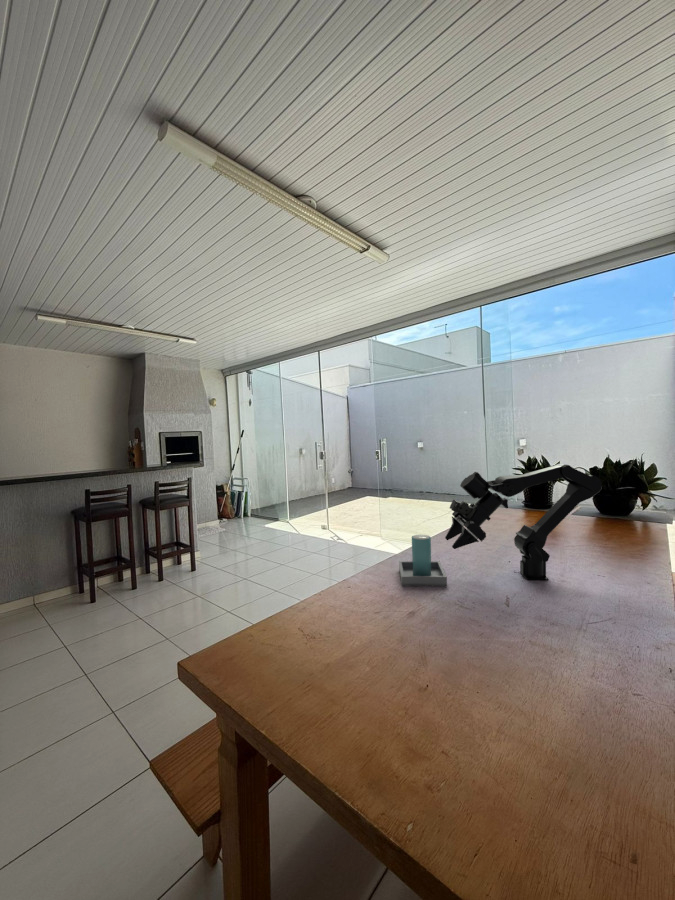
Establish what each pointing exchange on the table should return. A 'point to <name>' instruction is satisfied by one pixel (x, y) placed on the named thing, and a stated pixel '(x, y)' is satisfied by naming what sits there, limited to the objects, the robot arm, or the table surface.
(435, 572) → the tray
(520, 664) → the table surface
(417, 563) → the teal cylinder
